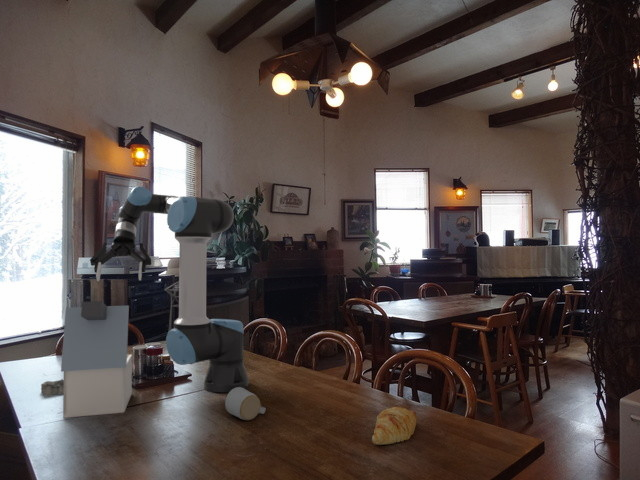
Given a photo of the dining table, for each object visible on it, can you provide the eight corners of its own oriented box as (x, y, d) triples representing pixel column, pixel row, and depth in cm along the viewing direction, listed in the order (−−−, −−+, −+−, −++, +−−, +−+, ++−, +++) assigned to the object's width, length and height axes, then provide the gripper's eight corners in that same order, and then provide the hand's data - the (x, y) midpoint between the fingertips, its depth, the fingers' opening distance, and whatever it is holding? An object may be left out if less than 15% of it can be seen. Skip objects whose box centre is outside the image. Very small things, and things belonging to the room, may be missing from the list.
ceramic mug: (240, 424, 125) (241, 395, 125) (224, 416, 131) (224, 389, 131) (271, 415, 132) (272, 388, 133) (255, 408, 138) (255, 382, 138)
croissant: (385, 466, 108) (399, 439, 106) (352, 437, 113) (365, 411, 111) (422, 435, 125) (434, 411, 123) (392, 411, 130) (404, 388, 128)
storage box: (77, 398, 148) (78, 357, 148) (131, 394, 152) (131, 354, 152) (63, 417, 130) (63, 371, 131) (124, 412, 135) (124, 367, 135)
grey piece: (41, 397, 150) (41, 385, 150) (40, 392, 156) (40, 379, 156) (78, 392, 155) (78, 379, 155) (76, 386, 162) (76, 374, 162)
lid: (66, 307, 135) (57, 302, 126) (128, 305, 140) (124, 300, 131) (61, 371, 130) (52, 370, 121) (126, 367, 135) (122, 366, 126)
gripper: (160, 243, 182) (157, 284, 167) (90, 243, 175) (81, 286, 160) (159, 229, 177) (156, 270, 162) (87, 228, 170) (77, 271, 155)
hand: (118, 278), depth 161 cm, fingers open, 13 cm apart
